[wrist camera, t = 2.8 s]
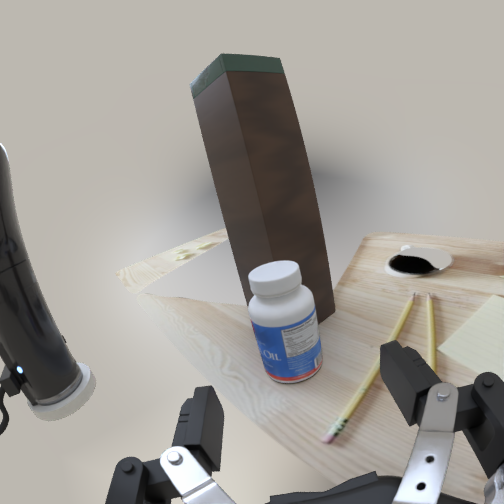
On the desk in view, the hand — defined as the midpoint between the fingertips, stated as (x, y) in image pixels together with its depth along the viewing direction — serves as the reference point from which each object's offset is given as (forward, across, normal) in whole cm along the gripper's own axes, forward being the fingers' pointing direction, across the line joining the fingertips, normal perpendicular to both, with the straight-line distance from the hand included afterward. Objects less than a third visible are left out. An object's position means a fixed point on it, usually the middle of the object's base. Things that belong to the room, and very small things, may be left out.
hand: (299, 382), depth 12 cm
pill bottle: (+11, 0, +8) cm, 14 cm away
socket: (+20, -1, -19) cm, 27 cm away
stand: (+20, -1, +8) cm, 21 cm away
